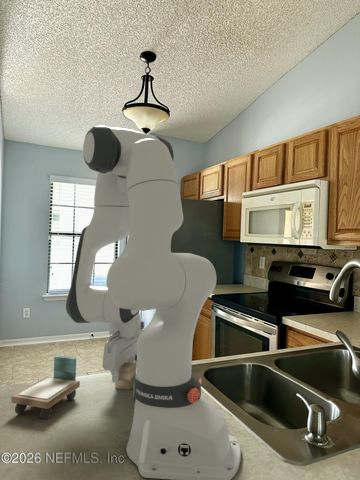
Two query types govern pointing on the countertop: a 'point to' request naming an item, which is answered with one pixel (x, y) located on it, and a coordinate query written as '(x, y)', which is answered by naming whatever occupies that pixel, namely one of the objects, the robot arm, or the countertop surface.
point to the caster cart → (49, 388)
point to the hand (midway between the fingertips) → (123, 375)
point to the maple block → (126, 375)
